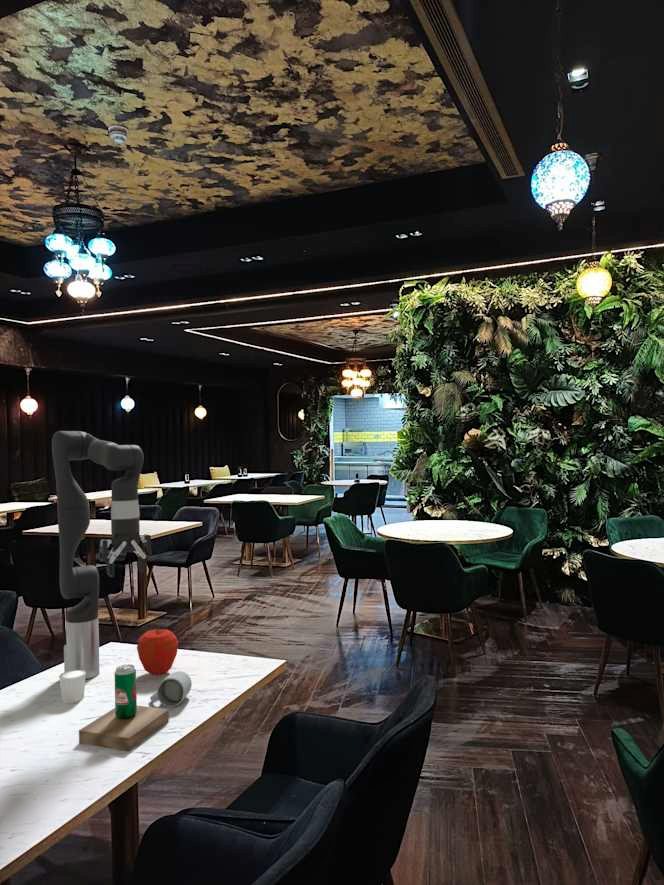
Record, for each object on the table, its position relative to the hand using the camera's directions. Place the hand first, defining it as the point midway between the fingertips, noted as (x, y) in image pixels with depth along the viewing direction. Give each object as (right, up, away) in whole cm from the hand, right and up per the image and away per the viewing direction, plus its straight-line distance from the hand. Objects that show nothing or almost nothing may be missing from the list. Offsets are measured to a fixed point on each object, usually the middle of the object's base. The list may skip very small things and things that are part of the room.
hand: (126, 574), depth 176 cm
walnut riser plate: (+7, -34, -22) cm, 41 cm away
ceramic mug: (+13, -34, -4) cm, 37 cm away
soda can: (+6, -31, -20) cm, 38 cm away
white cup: (-14, -35, -1) cm, 38 cm away
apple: (+4, -34, +17) cm, 38 cm away
